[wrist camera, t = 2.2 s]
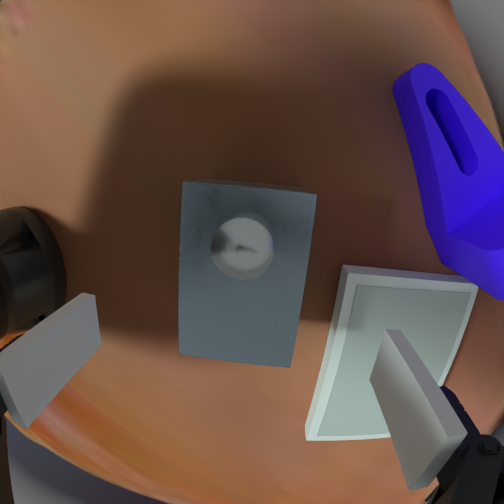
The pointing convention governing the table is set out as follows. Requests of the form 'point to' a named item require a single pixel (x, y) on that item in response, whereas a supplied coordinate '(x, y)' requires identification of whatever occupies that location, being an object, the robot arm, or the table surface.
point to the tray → (370, 337)
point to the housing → (242, 269)
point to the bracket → (455, 176)
